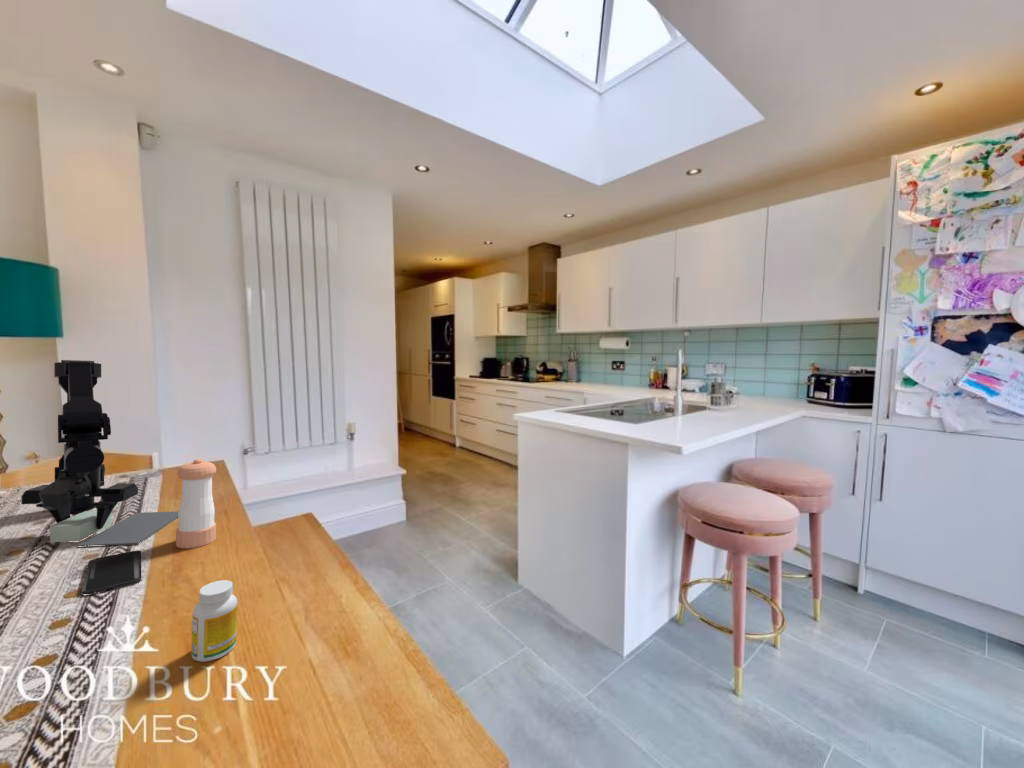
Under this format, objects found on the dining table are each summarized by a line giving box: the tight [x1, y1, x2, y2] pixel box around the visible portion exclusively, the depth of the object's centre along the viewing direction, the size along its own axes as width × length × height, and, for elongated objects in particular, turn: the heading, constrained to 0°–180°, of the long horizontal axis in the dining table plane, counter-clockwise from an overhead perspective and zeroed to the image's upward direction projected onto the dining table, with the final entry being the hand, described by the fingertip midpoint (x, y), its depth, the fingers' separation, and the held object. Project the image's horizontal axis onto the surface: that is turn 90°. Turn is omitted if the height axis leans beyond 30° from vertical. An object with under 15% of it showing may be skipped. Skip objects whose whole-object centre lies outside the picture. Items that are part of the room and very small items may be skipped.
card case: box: [49, 510, 113, 544], centre depth 93 cm, size 9×6×4 cm, turn 10°
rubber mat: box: [77, 510, 179, 546], centre depth 98 cm, size 19×11×1 cm, turn 14°
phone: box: [81, 550, 142, 594], centre depth 78 cm, size 8×1×15 cm
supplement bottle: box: [190, 579, 238, 663], centre depth 60 cm, size 5×5×10 cm
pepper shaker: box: [175, 458, 217, 549], centre depth 92 cm, size 7×7×19 cm
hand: (82, 529), depth 93 cm, fingers open, 6 cm apart
